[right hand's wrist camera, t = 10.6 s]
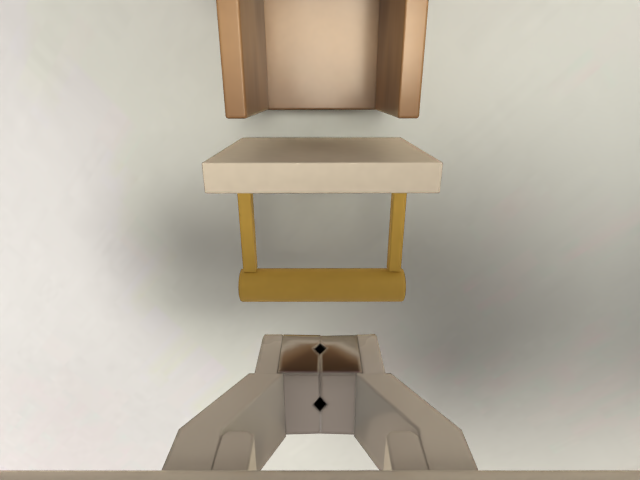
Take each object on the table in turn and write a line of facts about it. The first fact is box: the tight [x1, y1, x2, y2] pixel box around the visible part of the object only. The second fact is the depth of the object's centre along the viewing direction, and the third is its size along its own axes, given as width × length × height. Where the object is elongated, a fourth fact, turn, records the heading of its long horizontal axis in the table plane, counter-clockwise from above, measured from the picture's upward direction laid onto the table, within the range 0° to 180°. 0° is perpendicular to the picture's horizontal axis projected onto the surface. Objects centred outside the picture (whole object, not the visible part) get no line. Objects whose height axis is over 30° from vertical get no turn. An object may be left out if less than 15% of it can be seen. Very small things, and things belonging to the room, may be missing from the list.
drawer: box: [202, 0, 443, 302], centre depth 17 cm, size 22×9×8 cm, turn 0°
